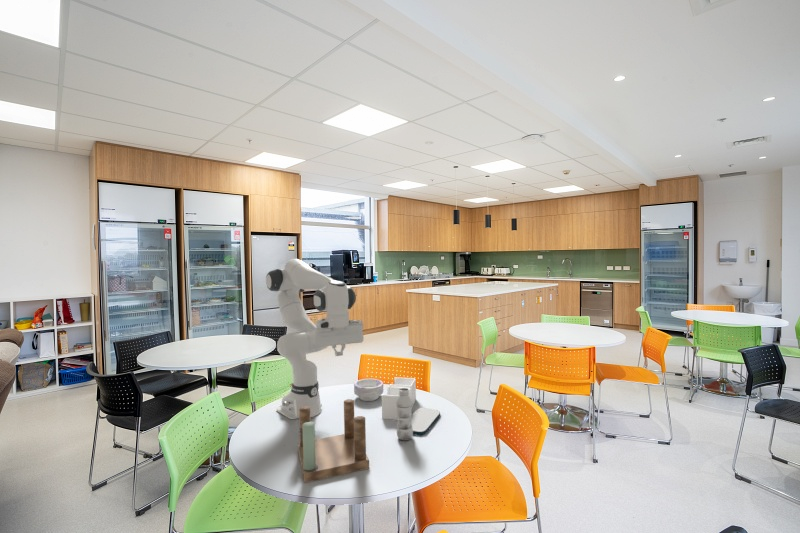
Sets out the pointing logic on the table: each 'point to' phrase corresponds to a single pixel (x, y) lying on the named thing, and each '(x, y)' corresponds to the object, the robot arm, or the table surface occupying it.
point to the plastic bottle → (404, 415)
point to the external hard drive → (423, 420)
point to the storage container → (393, 393)
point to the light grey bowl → (368, 389)
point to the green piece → (309, 446)
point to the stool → (337, 447)
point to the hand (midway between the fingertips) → (338, 355)
